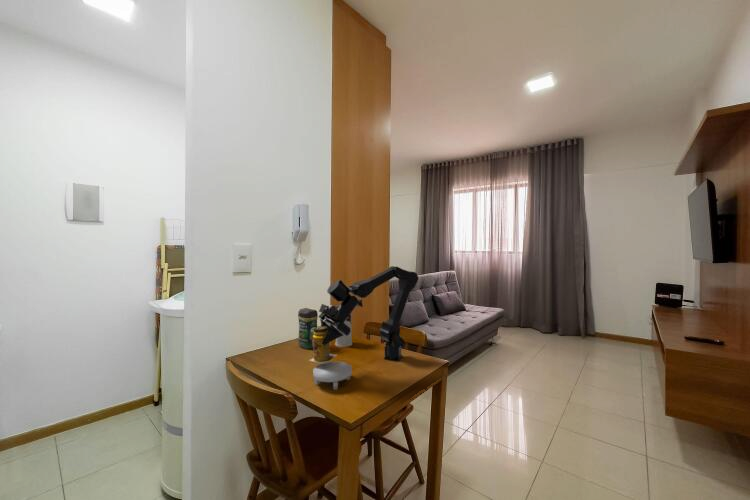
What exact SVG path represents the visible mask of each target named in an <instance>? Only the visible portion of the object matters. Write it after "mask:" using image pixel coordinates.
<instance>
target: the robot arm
mask: <svg viewBox="0 0 750 500" xmlns="http://www.w3.org/2000/svg"><path fill="white" fill-rule="evenodd" d="M394 278H395V279H398V281H397V282H398V291H397V294H396V297H395V299H394V303H393V306H392V309H391V312H390V314H389V318H388V319H387V320H386V321H382V323H381V326H380V328H379V336H380V338H381V339H382V340H383V343H385V346H384V356H383V359H384V360H387V361H394V362H399V361H400V360H401V359H402V358H403V357H404V355H403V354H402V347H403V346H404V343H405V339H403V338H402V337H401V336H400V334H401V326H400V323H401V320H402V317H403V314H404V309H405V308H406V305H407V302H408V298H409V295H410V293H411V291H412V290H413V289H414V288H415V287H416V285H417V283H418V281H419V275H418V273H417V272H415V271H409V270H405V269H403V268H401V267H399V266H390V267H388V268H387V269H385V270H382V271H381V272H379V273H377V274H376V275H373V276H372V277H370V278H368V279H363V280H362V279H361V280H359V281H357V282H354V283H352V285H350V286H348V285H346V284H345V283H344V282H343V281H342V280H341V279H337V280H336V281H335V282H333V283H332V284H330V285H329V287H328V288H327V289H326V290H327V291H326V292H327V294H329V295H330V296H331V297H332V298H333V299H334V300H335V301H336V302H338V303H339V302H340V304H339V305H333V304H330V305H326V304H323V303H321V305H320V308H319V309H318V310H319V311H318V312H319V313H320V314H318V319H319V320H320V326H326V327H327V328H328V334H327V336H326V337H325V339H324V340H323V342H322V344H323V345H325V344H327V343H329V344H330V342H332V341H336V339H337V338H339V337H341V336H343V333H344V335H346V336H348V335H349V334H350V332H351V333H352V328H351V329H350V328H349V327H348V326H347V325H346V324H345V323H344V322H345V321H346V319H347V318H351V319H352V313H353V311H354V310H355V309H356V308H357V306H358V307H360V308H363V306H364V305H363V300H362V299H365V298H367V297H368V296H369V295H371V294H372V293H373V292H374V290H375V289H376V288H378V287H380V286H381V285H383V284H384V283H386V282H388V281H390V280H393V279H394ZM357 297H358V298H357ZM359 298H361V299H359ZM350 314H351V316H350Z"/></svg>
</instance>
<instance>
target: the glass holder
mask: <svg viewBox="0 0 750 500" xmlns="http://www.w3.org/2000/svg"><path fill="white" fill-rule="evenodd" d="M350 316H351V318H347V319H346V321H345V322H344V323H345V324H346V325H347V326H348V327H349V328H350V329H351V330H352V313H351V314H350ZM352 345H353V341H352V331H351V332H350V334H349V335H348V336H346V335H344V333H343V336H341V337H339V338H337V339H335V343H334V346H336V347H339V348H342V347H343V348H346V347H351V346H352Z"/></svg>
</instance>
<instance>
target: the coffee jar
mask: <svg viewBox="0 0 750 500" xmlns="http://www.w3.org/2000/svg"><path fill="white" fill-rule="evenodd" d="M297 318H298V346H299V347H301V348H302V349H307V350H308V349H313V335H314V328H315V327H318V319H319V314H318V310H316V309H311V308H309V307H308V308H307V307H304V308H300V309H299V310H298V312H297Z"/></svg>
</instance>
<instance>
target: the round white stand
mask: <svg viewBox="0 0 750 500" xmlns="http://www.w3.org/2000/svg"><path fill="white" fill-rule="evenodd" d="M352 374H353V367H352V366H351V364H349V363H348V362H343V361H328V362H326V363H321V364H317V365H316V366H315V367H314V368H313V370H312V377H313V379H314V385H315V386H317V385H320V382H322V383H332V389H333V390H335V391H337V390H338V389H339V382H342V381H344V380H346V381H349V380H351V375H352Z"/></svg>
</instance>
